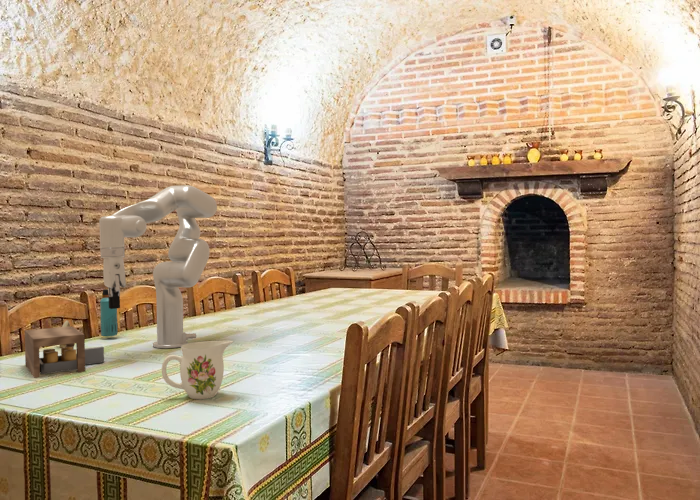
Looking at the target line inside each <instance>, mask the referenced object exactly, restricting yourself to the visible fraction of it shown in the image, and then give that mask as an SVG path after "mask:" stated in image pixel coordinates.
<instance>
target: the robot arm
mask: <svg viewBox="0 0 700 500" xmlns="http://www.w3.org/2000/svg"><path fill="white" fill-rule="evenodd" d="M217 210H218V205H217V201H216V200H215V198H214V197H213V196H212V195H210V194H208V193H206V192H205V191H203V190H202V189H200V188H197V187H195V186H193V185H185V184H183V185H171V186H167V187H166V188H164V189H161V191H159V192H157V193H156V194H154V195H153V196H150V197H149V198H147V199H145V200H142V201H139V202H137V203H134V204H132V205H129V206H125V207H124V208H121V209H120V210H118V211H116V212H114V213H113V214H111V215H107V216H106V215H105V216H101V217H100V218H99V222H98V223H99V225H98V226H99V248H100V249H99V250H100V253H99V254H100V259H103V266H102V267H103V270H102V271H103V275H102V276H103V284H104V286H105V287H107V289H108V295H107V296H108V297H109V308H110V309H117V310H118V309H120V308H121V299H120V297H121V294H120V293H121V288H125V287H126V286H127V284H126V283H127V281H126V269H125V261H124V258H125V257H126V251H125V238H138V237H141V236H143V235H144V234H145V232H146V231H147V228H148V226H147V224H149V223H153V222H154V223H155V222H158V221H161V220H162V219H164V218H165V217H167V216H168V215H170V214H171V213H173V212H174V211H176V216H177V217H178V224H179V228H178V230H177V233H176V234H175V236H174V238H173V240H172V242H171V244H170V246H169V248H168V250H167V251H168V253H167V255H168V256H167V257H168V259H169V260H170V261H162V262H159V263H158V264H156V265H155V267H154V268H153V272H152V278H153V283H154V287H155V293H156V294H155V295H156V341H154V342H152V347H153V348H156V349H157V348H158V349H174V348H175V349H177V348H181V346H182V345H184V344H188V343H189V341H188V340H189V339H197V333H186V332H184V297H183V294H182V291H181V290H180V288H192V287H194V286H195V285H197V283H198V282H199V280H200V278H201V277H202V274H203V272H204V270H205V267H206V265H207V263H208V261H209V258H210V255H211V253H210V251H211V250H210V246H209V244H208V242H207V241H206V240H204V239H202V238H200V236H201V229H200V226H199V224H198V223H197V220H196V219H203V218H204V219H207V218H212V217H214V216H215V215H216V213H217Z"/></svg>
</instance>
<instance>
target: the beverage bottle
mask: <svg viewBox="0 0 700 500" xmlns="http://www.w3.org/2000/svg"><path fill="white" fill-rule="evenodd" d="M102 296H108V297H102V298H101V299H100V301H99V302H100V306H99V307H100V323H99V325H100V335H101V337H114V336H117V335H118V334H119V333H118V329H119V327H118V325H119V324H118V308H117V309H110V308H109V297H110V296H109V295H108V288H105V289H103V290H102Z"/></svg>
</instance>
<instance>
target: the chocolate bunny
mask: <svg viewBox="0 0 700 500" xmlns="http://www.w3.org/2000/svg"><path fill="white" fill-rule="evenodd" d="M70 326H71V323H70V322H69V320H65V321H64V322H63V324H62V326H61V327H70ZM75 344H76V343H74V345H75ZM58 347H59V348H60V349H61V348H63V347H66V344H61V345H58Z"/></svg>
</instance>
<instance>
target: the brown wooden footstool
mask: <svg viewBox="0 0 700 500" xmlns="http://www.w3.org/2000/svg"><path fill="white" fill-rule="evenodd" d="M85 336H86V335H85V334H84V333H83V332H81V331H80V330H78V329H77V328H75V327H74V326H73V325H72V326H71V325H70V327H62V326H59V327H49V328H37V329H36V328H35V329H25V330H24V350H25V351H24V355H25V356H24V357H25V360H24V361H25V368H27V370H28V371H29V373H30V374H31V376H32V377H33V378H35V379H36V378H40V377H41V373H40V360H39V358H40V347H49V346H60V345H61V344H66V347H73V349H74V347H75V344H76V354H77V370H76V371H77V372H78V373H82V372H86V364H85V347H86V346H85V345H86V344H85V343H86V342H85V341H86V340H85ZM74 343H75V344H74Z"/></svg>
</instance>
